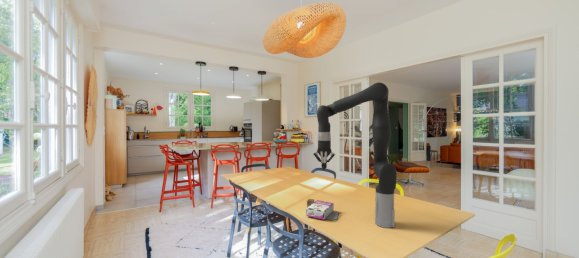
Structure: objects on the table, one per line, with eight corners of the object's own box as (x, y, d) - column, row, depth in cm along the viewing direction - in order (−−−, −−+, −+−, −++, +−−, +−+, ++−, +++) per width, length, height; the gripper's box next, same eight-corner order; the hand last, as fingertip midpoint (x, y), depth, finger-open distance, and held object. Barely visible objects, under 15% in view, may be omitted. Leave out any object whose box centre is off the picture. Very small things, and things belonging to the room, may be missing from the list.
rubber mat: (338, 212, 144) (338, 211, 144) (336, 220, 132) (336, 219, 132) (312, 209, 149) (312, 208, 149) (308, 216, 137) (308, 215, 137)
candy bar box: (317, 207, 150) (305, 216, 136) (317, 200, 150) (305, 207, 136) (334, 211, 145) (323, 220, 131) (334, 203, 145) (324, 211, 131)
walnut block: (314, 205, 157) (314, 199, 157) (312, 207, 153) (312, 201, 153) (308, 204, 158) (308, 198, 158) (306, 206, 154) (306, 200, 154)
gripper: (311, 139, 138) (311, 169, 138) (334, 140, 134) (334, 171, 134) (314, 139, 145) (314, 167, 145) (336, 139, 141) (336, 168, 141)
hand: (324, 169), depth 139 cm, fingers closed
